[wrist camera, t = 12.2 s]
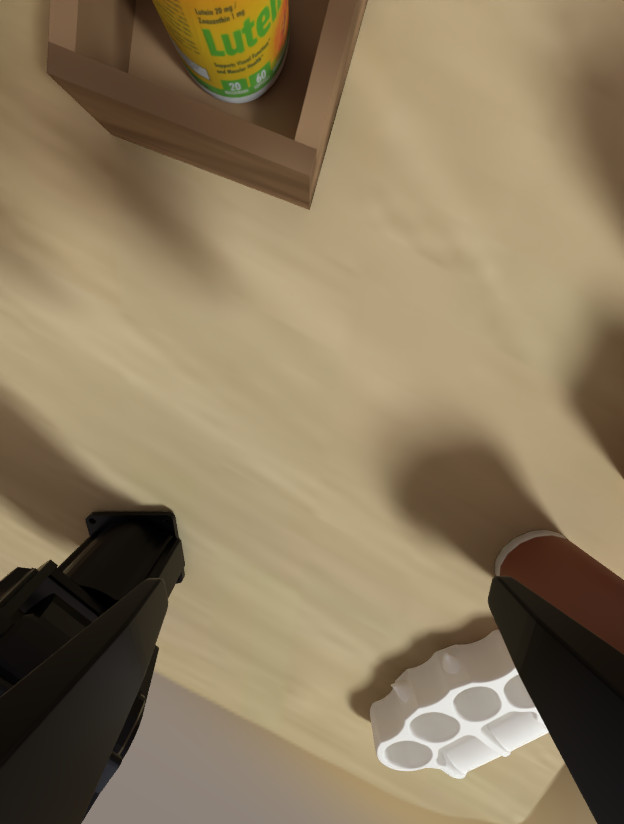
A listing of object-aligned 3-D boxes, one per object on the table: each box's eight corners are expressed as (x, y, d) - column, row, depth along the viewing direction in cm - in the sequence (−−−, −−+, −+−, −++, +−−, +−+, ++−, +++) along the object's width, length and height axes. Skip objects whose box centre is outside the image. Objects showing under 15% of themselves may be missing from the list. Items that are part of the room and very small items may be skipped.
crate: (309, 209, 17) (309, 175, 13) (111, 134, 15) (46, 72, 12) (382, -53, 13) (411, -201, 10) (142, -170, 12) (68, -388, 9)
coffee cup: (559, 494, 22) (826, 677, 11) (608, 566, 24) (876, 784, 13) (457, 557, 24) (594, 775, 12) (511, 620, 26) (671, 855, 15)
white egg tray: (426, 755, 33) (339, 692, 29) (572, 679, 29) (491, 597, 26) (439, 803, 29) (343, 738, 26) (605, 723, 26) (517, 637, 23)
